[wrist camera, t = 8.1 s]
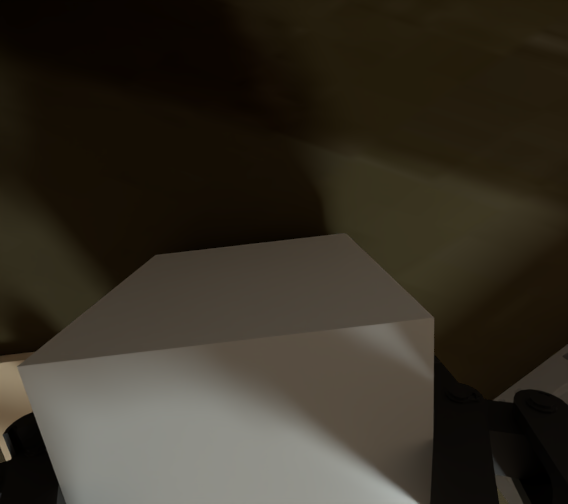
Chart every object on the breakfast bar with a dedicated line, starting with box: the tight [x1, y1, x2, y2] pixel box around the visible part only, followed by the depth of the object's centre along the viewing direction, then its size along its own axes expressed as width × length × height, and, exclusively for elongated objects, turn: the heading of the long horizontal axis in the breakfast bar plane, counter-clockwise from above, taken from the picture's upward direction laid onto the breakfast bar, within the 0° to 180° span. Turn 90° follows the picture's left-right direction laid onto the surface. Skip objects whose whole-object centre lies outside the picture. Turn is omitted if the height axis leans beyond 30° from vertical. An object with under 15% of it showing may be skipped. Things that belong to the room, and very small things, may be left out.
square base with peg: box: [0, 352, 35, 461], centre depth 17 cm, size 7×7×6 cm
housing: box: [17, 233, 434, 504], centre depth 13 cm, size 9×9×9 cm
